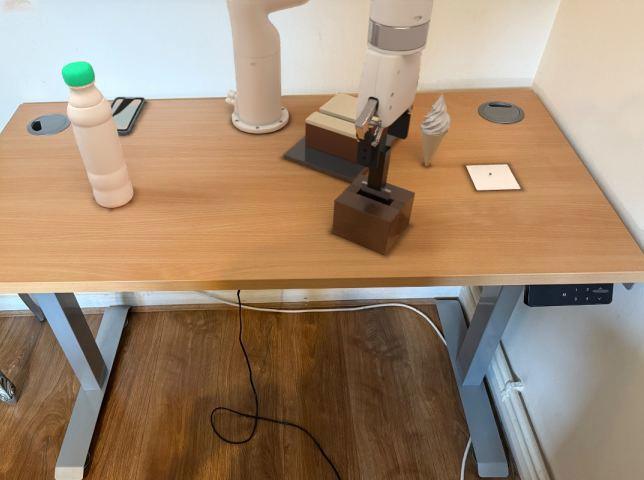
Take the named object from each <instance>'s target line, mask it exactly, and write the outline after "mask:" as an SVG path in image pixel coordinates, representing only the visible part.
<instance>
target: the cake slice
mask: <svg viewBox="0 0 644 480" xmlns="http://www.w3.org/2000/svg"><path fill="white" fill-rule="evenodd" d="M304 130H305V132H304V137H305V146H307V147H310V148H313V149H316V150H319V151H322V152H325V153H327V154H330V155H333V156H336V157H339V158H342V159H345V160H348V161H351V162H353V163H356V164H357V150H358V141H357V137H356V129H355V124H354V123H351V122H348V121H345V120H342V119H338V118H335V117H332V116H329V115H326V114H322V113H319V111H314V112H312V113H311V114H310V115H308V116H307V117H306V118H305V129H304ZM368 130H369V129H368Z"/></svg>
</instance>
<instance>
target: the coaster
mask: <svg viewBox="0 0 644 480" xmlns="http://www.w3.org/2000/svg"><path fill="white" fill-rule="evenodd" d="M465 168H466V170H467V171H468V174H469V176H470V178H471V181H472V182H473V185H474V187H475V189H476V191H496V190H498V191H501V190H521V187H520V185H519V183H518V181H517V179H516V177H515V176H514V174H513V173H512V170H511V169H510V167H509V165H508V164H477V165H475V164H474V165H473V164H472V165H465Z"/></svg>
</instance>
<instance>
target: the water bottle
mask: <svg viewBox="0 0 644 480" xmlns="http://www.w3.org/2000/svg"><path fill="white" fill-rule="evenodd" d="M61 76H62V79H63V81H64V83H65V85H66V87H67V88H68V89H69V94H68V98H67V99H68V101H67V106H66V116H67V118H68V120H69V122H70V123H71V127H72V131H73V135H74V139H75V142H76V146H77V148H78V152H79V154H80V157H81V160H82V162H83V164H84V166H85V168H86V175H87V178H88V181H89V184H90V185H91V188H92V194H93V197H94V199H95V202H96V203H97V204H98V205H99V206H101V207H104V208H108V209H114V208H115V209H116V208H120V207H122V206H125V205H127V204H128V203H130V201H131V200H132V199H133V197H134V188H133V186H132V181H131V179H130V176H129V169H128V166H127V164H126V161H125V159H124V152H123V148H122V147H123V146H122V144H121V139H120V134H118V132H117V128H116V125H115V122H114V119H113V117H112V109H111V103H110V102H109V100H108V99H107V98H106V97H105V96H104V95H103V93H102V92H101V90H100V89H98V88H97V86H96V85H95V83H96V74H95V70H94V67H93V66H92V64H90V63H89V62H87V61H82V60H81V61H80V60H77V61H73V62H69V63H67V64H65V65H64V66H63V67H62V68H61Z"/></svg>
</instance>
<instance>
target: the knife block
mask: <svg viewBox="0 0 644 480" xmlns="http://www.w3.org/2000/svg"><path fill="white" fill-rule="evenodd" d="M363 181H365V182H367V181H368V175H366V174H364V173H363V174H360V175H359V176H358V177H357V178H356V179H355V180H354V181H353V182H352V183H349V185H348V186H347V187H346V188H345V189H344V190H343V191H342V192H341V193H340V194H339V195H338V196H337V197H336V198H335V199H334V201H333V213H332V229H331V234H333V235H335V236H337V237H340V238H342V239H345V240H346V241H349V242H352V243H354V244H357V245H359V246H361V247H364V248H367V249H369V250H371V251H373V252H375V253H378V254H380V255H383V256H385V255H386V254H387V253H388V252H389V251H390V249H391V248H392V247H393V246H394V244H395V243H396V242H397V241H398V239H399V238H400V237H401V236H402V234H403V233H404V232H405V231H406V230H407V228H408V227H409V225H410V221H411V215H412V211H413V205H414V200H415V195H416V192H414V191H411V190H408V189H405V188H403V187H400V186H397V185H395V184H391V183H390V182H389V183H388V182H386V186H385V187H384V188H385V189H388V190H390V191H391V195H390V201H389V206H388V205H386V204H383V203H380V202H377V201H375V200H372V199H369V198H367V197H364V196H361V186H362V182H363Z"/></svg>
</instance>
